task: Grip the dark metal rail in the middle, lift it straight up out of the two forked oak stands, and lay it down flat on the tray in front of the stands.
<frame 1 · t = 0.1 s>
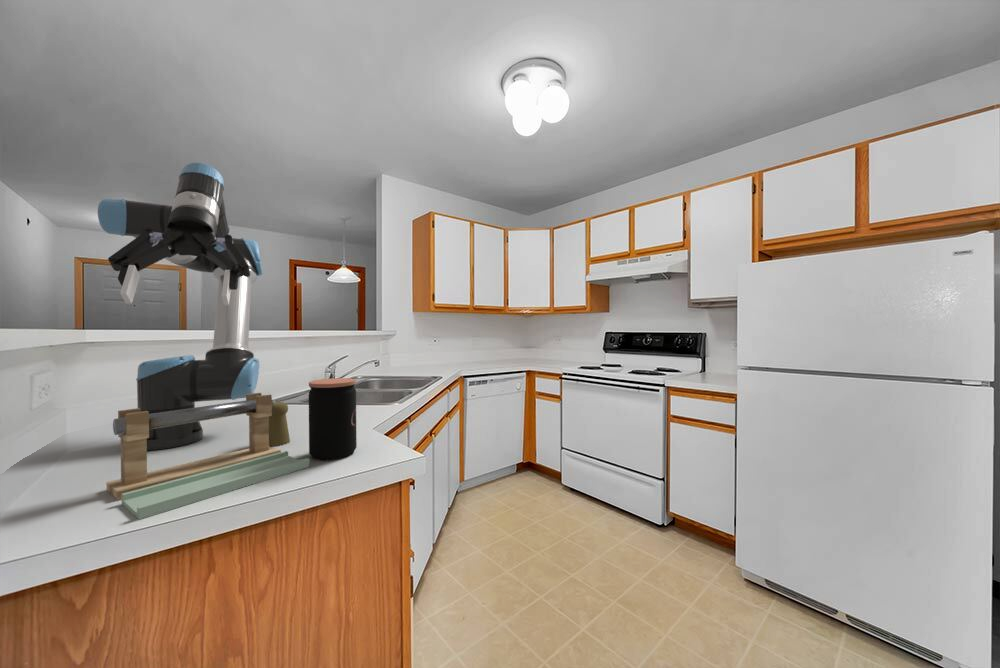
hand: (177, 299, 66), 36 cm above the worktop, tool tilted 35°, fingers open, 13 cm apart
coffee jar: (333, 454, 92), on the worktop
olive green shaker: (277, 443, 101), on the worktop
rail: (203, 413, 81), point 12 cm above the worktop, touching rail rack
rail rack: (203, 471, 81), on the worktop
tray: (226, 483, 75), on the worktop
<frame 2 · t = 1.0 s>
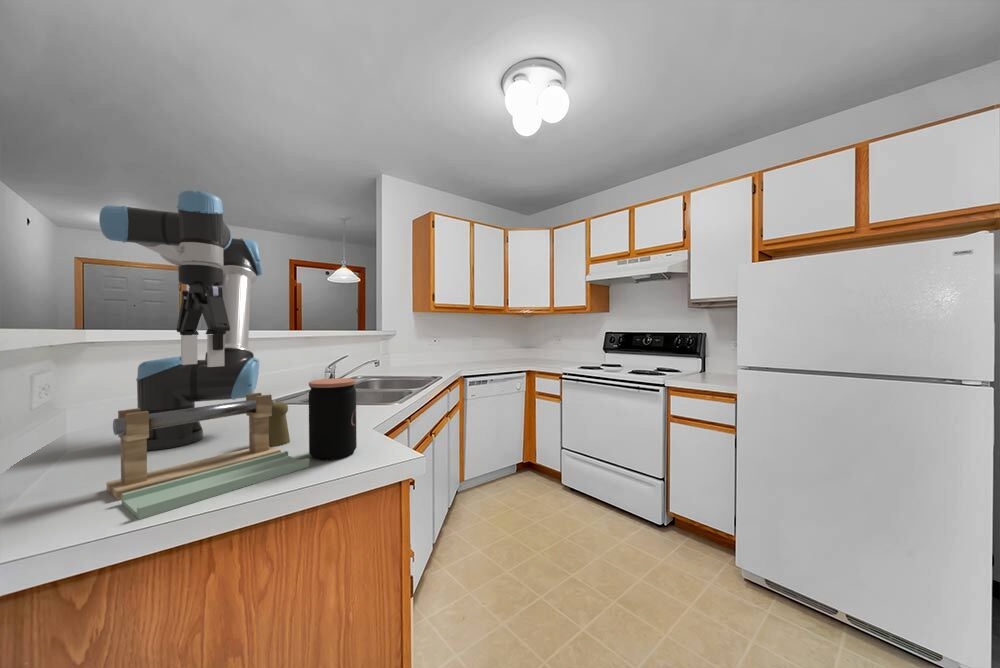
hand: (202, 365, 80), 23 cm above the worktop, tool pointing down, fingers open, 13 cm apart
nothing on the worktop moved.
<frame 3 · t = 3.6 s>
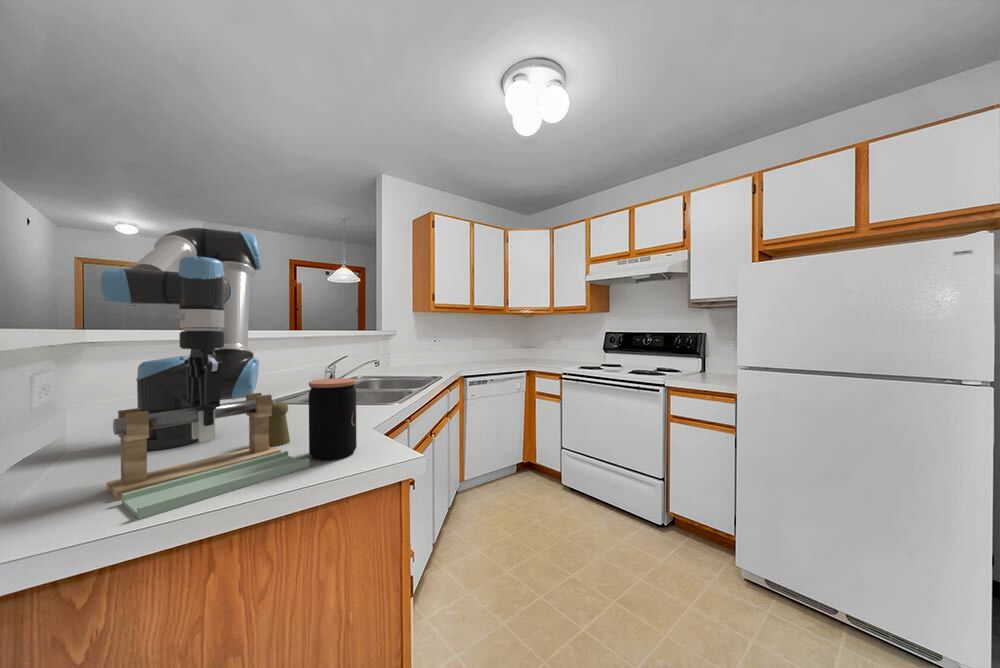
hand: (203, 438, 81), 7 cm above the worktop, tool pointing down, fingers closed on rail, 3 cm apart
rail: (203, 413, 81), point 12 cm above the worktop, touching gripper, rail rack
everything else where it was.
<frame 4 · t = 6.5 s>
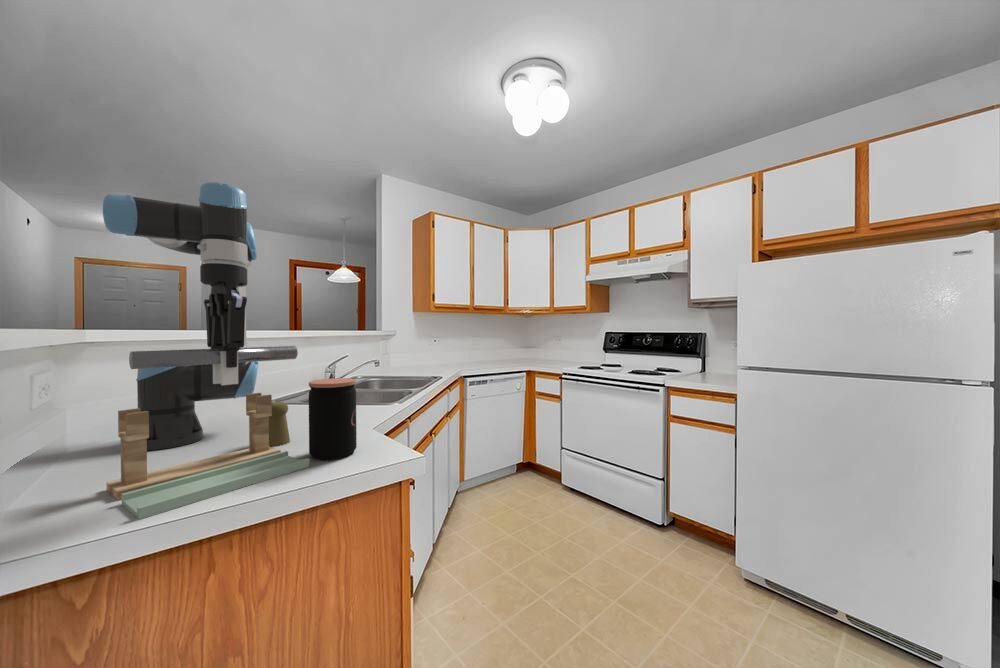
hand: (225, 383, 74), 20 cm above the worktop, tool pointing down, fingers closed on rail, 3 cm apart
rail: (225, 355, 74), point 25 cm above the worktop, touching gripper
everything else where it was.
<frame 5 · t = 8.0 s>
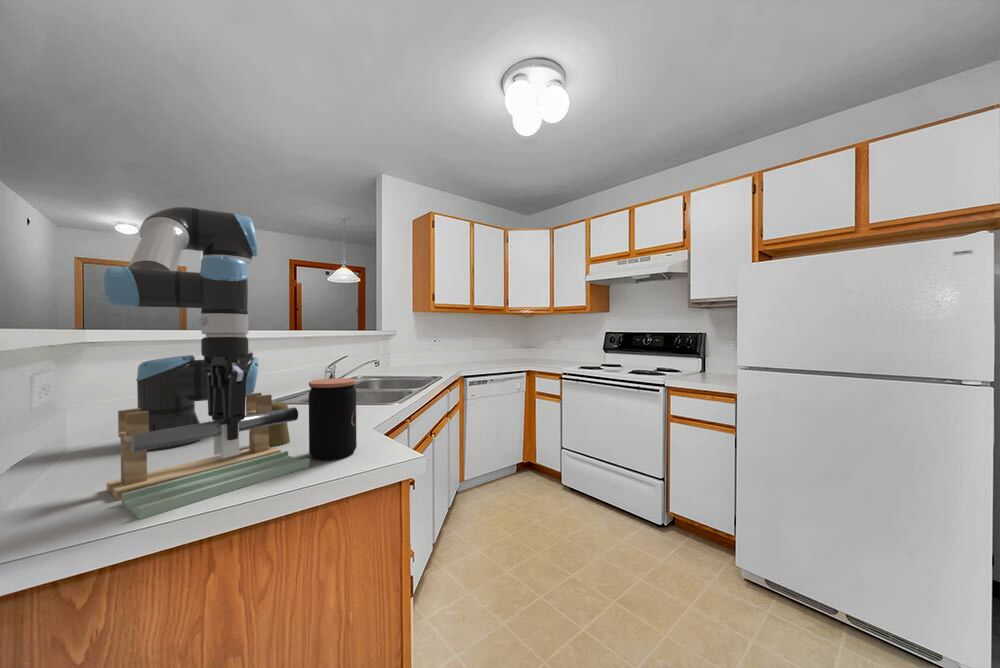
hand: (226, 453, 74), 6 cm above the worktop, tool pointing down, fingers closed on rail, 3 cm apart
rail: (226, 426, 74), point 11 cm above the worktop, touching gripper
everything else where it was.
when the fingers open (2 cm above the worktop, at t = 9.3 s): rail drops 5 cm, resting on tray.
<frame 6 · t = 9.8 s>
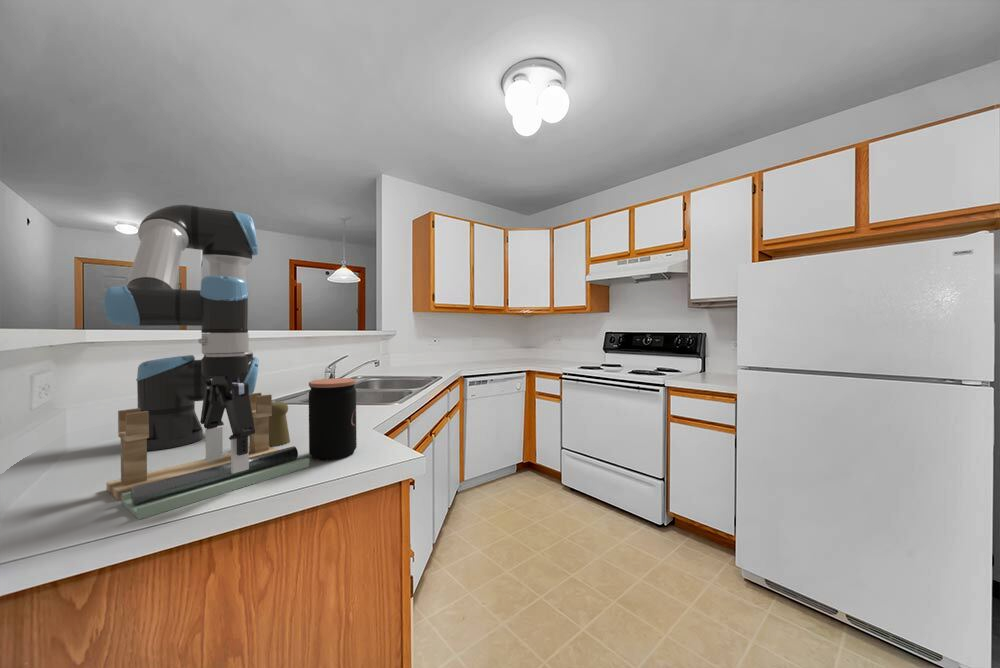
hand: (226, 465, 75), 4 cm above the worktop, tool pointing down, fingers open, 11 cm apart
rail: (226, 471, 75), point 2 cm above the worktop, tilted 12°, touching tray
everything else where it was.
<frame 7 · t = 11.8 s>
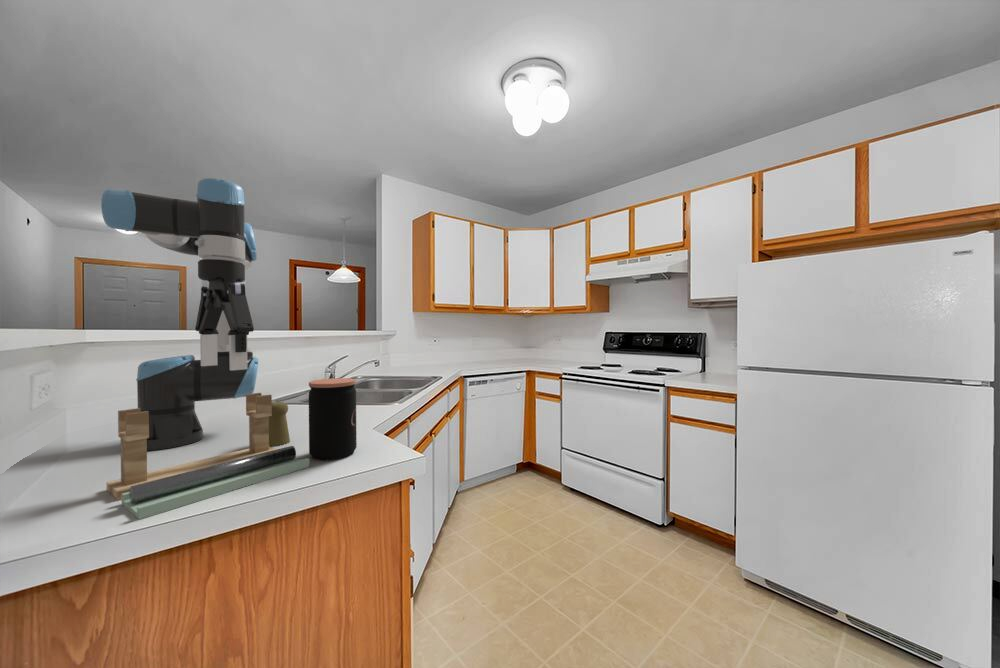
hand: (223, 367, 75), 23 cm above the worktop, tool pointing down, fingers open, 13 cm apart
rail: (224, 470, 75), point 2 cm above the worktop, tilted 44°, touching tray
everything else where it was.
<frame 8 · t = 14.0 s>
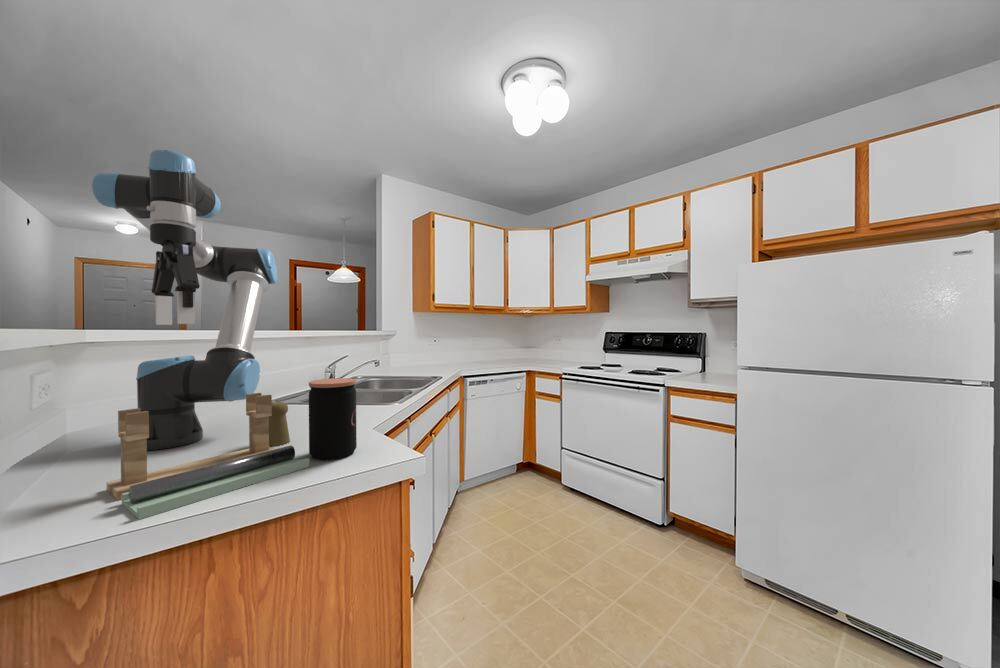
hand: (174, 324, 81), 32 cm above the worktop, tool pointing down, fingers open, 13 cm apart
rail: (223, 470, 75), point 2 cm above the worktop, tilted 59°, touching tray
everything else where it was.
at the end: rail inside the target area (1.6 cm from its centre), point 2.3 cm above the worktop; rail touching tray; the gripper is holding nothing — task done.
